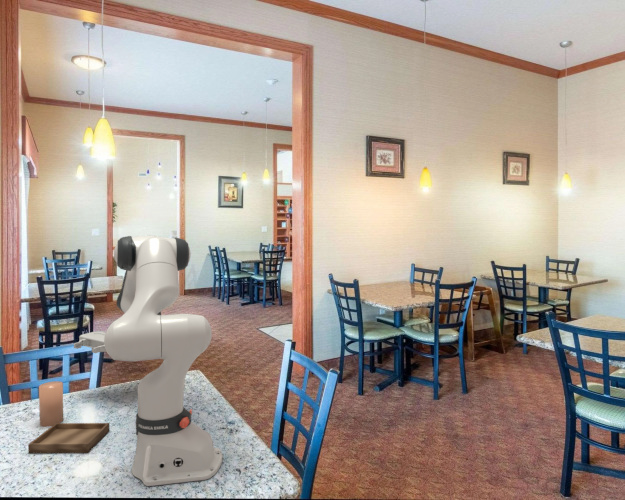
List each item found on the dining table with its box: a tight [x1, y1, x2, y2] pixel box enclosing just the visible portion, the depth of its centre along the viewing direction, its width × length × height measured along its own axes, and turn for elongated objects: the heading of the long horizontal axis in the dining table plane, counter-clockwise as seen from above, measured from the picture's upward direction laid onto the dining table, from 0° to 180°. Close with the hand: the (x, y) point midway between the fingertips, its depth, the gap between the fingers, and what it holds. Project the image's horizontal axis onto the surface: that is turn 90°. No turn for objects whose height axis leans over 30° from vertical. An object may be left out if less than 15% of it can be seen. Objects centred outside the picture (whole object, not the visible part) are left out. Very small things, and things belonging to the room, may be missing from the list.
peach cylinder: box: [38, 380, 64, 428], centre depth 136 cm, size 6×6×12 cm
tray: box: [27, 422, 110, 454], centre depth 124 cm, size 16×13×2 cm
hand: (83, 348), depth 145 cm, fingers open, 8 cm apart
